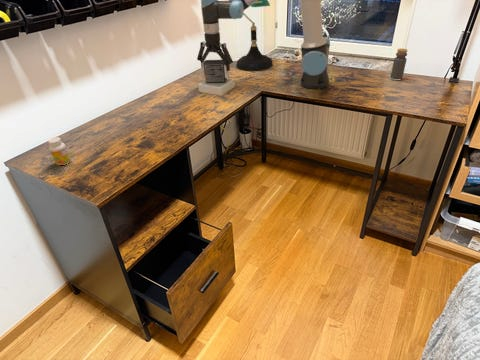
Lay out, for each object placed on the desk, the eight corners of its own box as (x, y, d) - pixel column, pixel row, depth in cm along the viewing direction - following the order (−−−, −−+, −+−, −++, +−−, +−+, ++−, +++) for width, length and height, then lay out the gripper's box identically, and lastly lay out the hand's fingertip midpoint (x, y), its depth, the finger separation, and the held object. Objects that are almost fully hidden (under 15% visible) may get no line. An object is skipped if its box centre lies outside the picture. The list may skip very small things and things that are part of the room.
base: (235, 86, 180) (234, 78, 177) (221, 95, 170) (220, 87, 168) (213, 83, 186) (212, 75, 183) (199, 91, 176) (198, 83, 174)
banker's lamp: (278, 69, 199) (279, -7, 176) (241, 74, 196) (237, -3, 173) (266, 57, 221) (265, -12, 197) (232, 61, 217) (228, -9, 194)
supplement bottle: (52, 165, 123) (42, 142, 118) (63, 157, 127) (54, 135, 122) (64, 167, 122) (54, 144, 116) (74, 159, 126) (65, 137, 120)
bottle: (404, 79, 176) (411, 49, 167) (397, 81, 174) (404, 51, 165) (394, 76, 180) (400, 47, 171) (387, 78, 178) (393, 49, 169)
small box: (227, 78, 178) (225, 58, 172) (225, 83, 172) (223, 62, 166) (207, 79, 179) (205, 59, 173) (205, 83, 174) (203, 63, 168)
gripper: (186, 32, 164) (192, 75, 177) (229, 35, 153) (232, 80, 166) (195, 29, 169) (200, 70, 182) (237, 32, 159) (240, 76, 171)
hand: (216, 75), depth 174 cm, fingers open, 13 cm apart
